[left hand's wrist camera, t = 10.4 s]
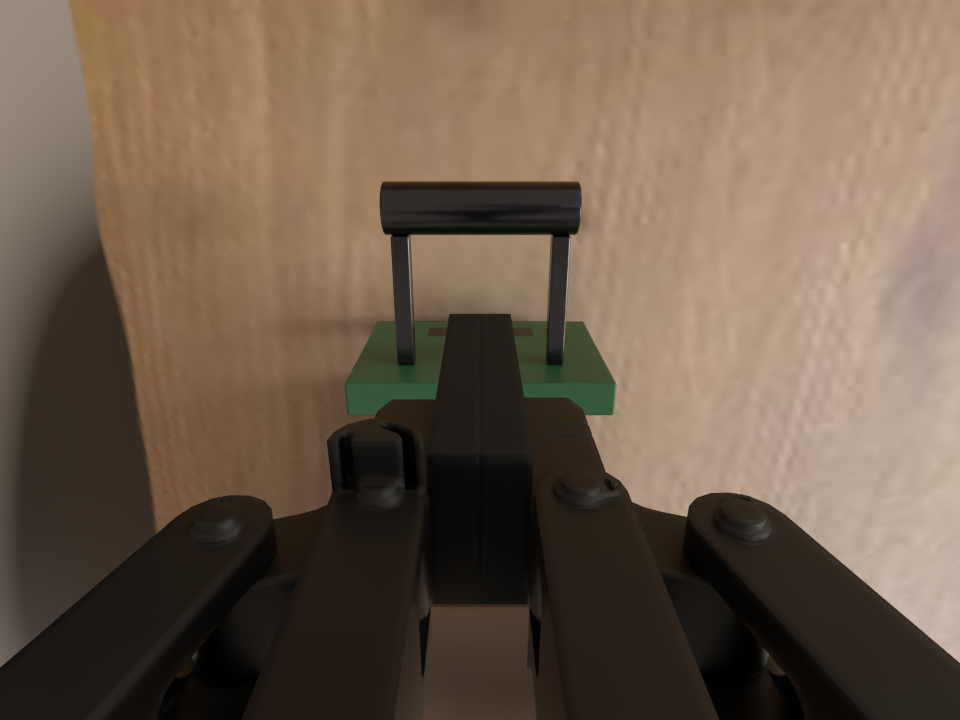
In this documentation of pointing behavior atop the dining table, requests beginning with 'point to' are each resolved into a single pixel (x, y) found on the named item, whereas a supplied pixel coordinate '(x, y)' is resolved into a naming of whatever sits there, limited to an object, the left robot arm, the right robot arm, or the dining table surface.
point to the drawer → (540, 345)
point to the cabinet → (479, 663)
